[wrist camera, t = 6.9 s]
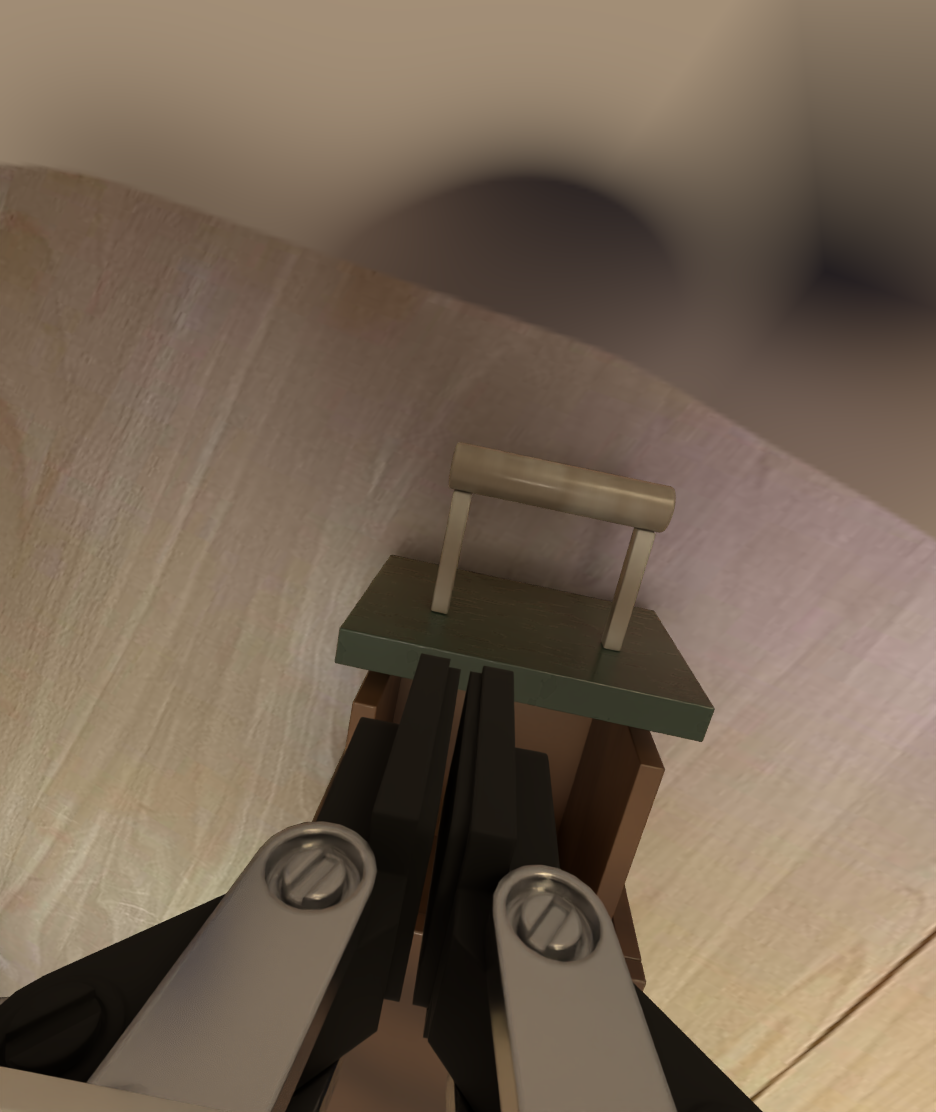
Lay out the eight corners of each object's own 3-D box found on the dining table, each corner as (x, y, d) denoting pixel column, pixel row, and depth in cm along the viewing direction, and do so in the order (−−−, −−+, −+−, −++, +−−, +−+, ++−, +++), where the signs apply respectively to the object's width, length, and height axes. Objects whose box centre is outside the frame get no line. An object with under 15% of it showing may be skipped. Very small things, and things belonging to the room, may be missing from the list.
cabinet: (350, 735, 29) (275, 901, 20) (603, 790, 29) (647, 983, 19) (314, 955, 33) (238, 1177, 24) (534, 1004, 33) (543, 1246, 24)
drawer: (413, 418, 23) (367, 435, 16) (696, 477, 23) (783, 523, 16) (347, 811, 29) (290, 961, 21) (574, 861, 29) (596, 1028, 21)
